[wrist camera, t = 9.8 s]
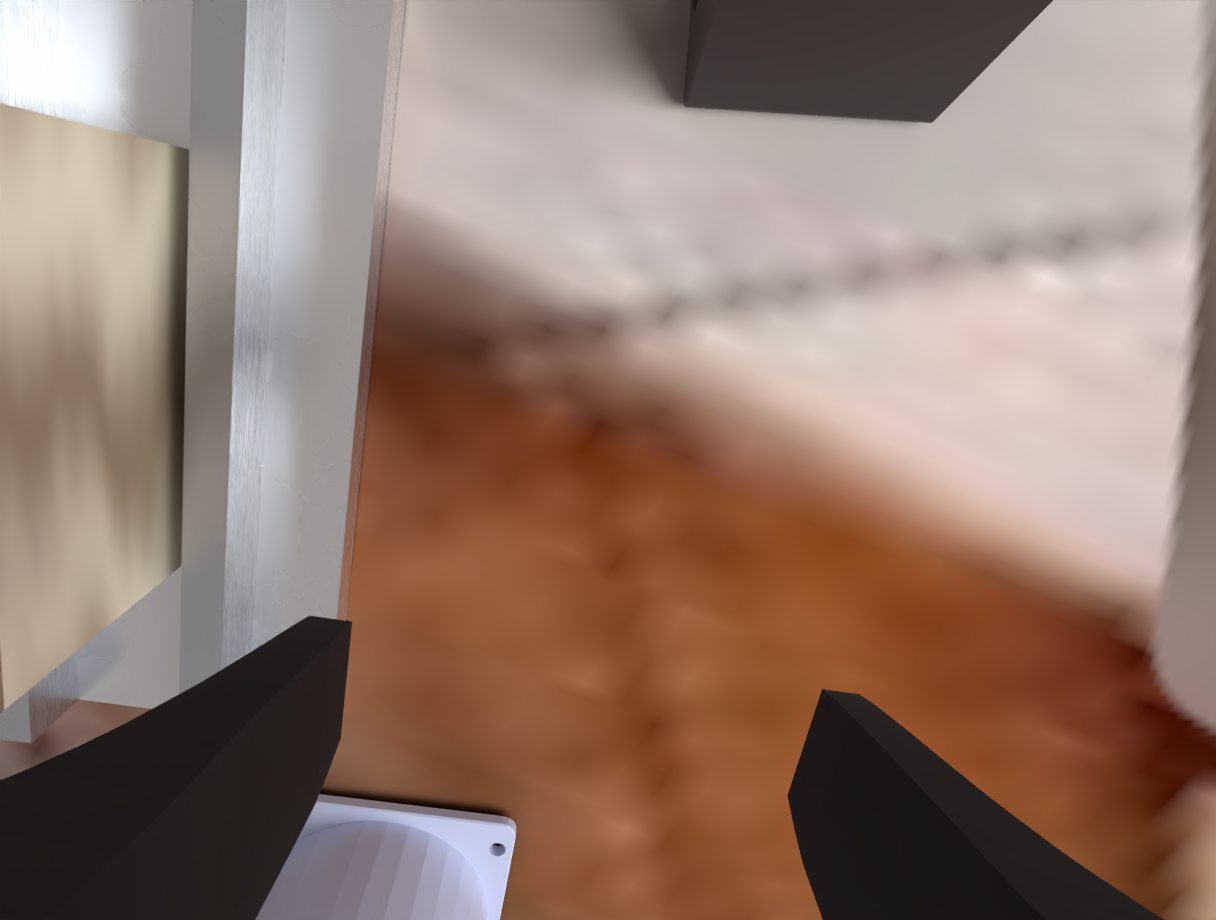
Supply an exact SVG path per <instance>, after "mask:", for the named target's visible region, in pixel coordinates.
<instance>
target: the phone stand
mask: <svg viewBox="0 0 1216 920" xmlns="http://www.w3.org/2000/svg"><path fill="white" fill-rule="evenodd" d="M1052 1H1053V0H691V12H690V25H689V39H688V52H687V66H686V79H685V92H684V106H685V107H694V108H709V109H725V110H740V111H756V112H771V113H787V114H802V115H818V116H833V117H848V118H864V119H879V120H895V121H910V122H926V123H932V122H933V121H934V120H935V119H936V118H937V117H938V116H939V115H940V114H941V113H942V112H943V111H944V110H945V109H946V108H947V107H948V106H949V105H950V104H951V103H952V102H953V101H954V100H955V99H956V98H957V97H958V96H959V95H960V94H961V93H962V92H963V91H964V90H965V89H966V88H967V87H968V86H969V85H970V84H971V83H972V82H973V81H974V80H975V79H976V78H977V77H978V76H979V75H980V74H981V73H982V72H983V71H984V70H985V69H986V68H987V67H988V66H989V65H990V64H991V63H992V62H993V61H994V60H995V59H996V58H997V57H998V56H999V54H1000V53H1001V52H1002V51H1003V50H1004V49H1005V48H1006V47H1007V46H1008V45H1009V44H1010V43H1011V42H1012V41H1013V40H1014V39H1015V38H1016V37H1017V36H1018V35H1019V34H1020V33H1021V32H1022V31H1023V30H1024V29H1025V28H1026V27H1027V26H1028V25H1029V24H1030V23H1031V22H1032V21H1033V20H1034V19H1035V18H1036V17H1037V16H1038V15H1039V14H1040V13H1041V12H1042V11H1043V10H1044V9H1045V8H1046V7H1047V6H1048V5H1049V4H1050V3H1051V2H1052Z"/></svg>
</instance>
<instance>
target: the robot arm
mask: <svg viewBox="0 0 1216 920" xmlns="http://www.w3.org/2000/svg"><path fill="white" fill-rule="evenodd" d="M351 627H352V622H351V621H344V620H337V619H330V618H323V617H317V616H308V617H306V618H304V619H303V620H301V621H299V622H298V623H296V624H294V625H293V626H291V627H290V628H288V629H286V630H285V631H283V632H282V633H280V634H278V635H277V636H275V637H274V638H272V639H271V640H269V641H267V642H266V643H264V644H263V645H261V646H259V647H258V648H256V649H255V650H253V651H251V652H250V653H248V654H247V655H245V656H243V657H242V658H240V659H238V660H237V661H235V662H233V663H232V664H230V665H229V666H227V667H225V668H224V669H222V670H220V671H219V672H217V673H215V674H214V675H212V676H210V677H209V678H207V679H205V680H204V681H202V682H200V683H199V684H197V685H195V686H193V687H191V688H190V689H188V690H186V691H184V692H182V693H180V694H179V695H177V696H175V697H173V698H171V699H169V700H168V701H166V702H164V703H162V704H160V705H158V706H157V707H155V708H153V709H151V710H149V711H147V712H146V713H144V714H142V715H140V716H138V717H136V718H135V719H133V720H131V721H129V722H127V723H125V724H123V725H121V726H119V727H117V728H115V729H113V730H111V731H109V732H107V733H105V734H103V735H101V736H99V737H97V738H95V739H93V740H91V741H89V742H87V743H85V744H83V745H80V746H78V747H76V748H74V749H72V750H69V751H67V752H65V753H63V754H60V755H58V756H56V757H54V758H52V759H49V760H47V761H45V762H43V763H40V764H38V765H36V766H34V767H32V768H29V769H27V770H24V771H22V772H20V773H17V774H15V775H13V776H10V777H8V778H5V779H3V780H0V920H500V915H501V910H502V905H503V900H504V895H505V889H506V884H507V879H508V874H509V869H510V864H511V858H512V853H513V848H514V843H515V837H516V825H515V823H514V821H513V820H511V819H510V818H508V817H504V816H498V815H489V814H481V813H472V812H464V811H456V810H447V809H439V808H431V807H422V806H414V805H406V804H397V803H389V802H381V801H372V800H364V799H355V798H347V797H339V796H330V795H322V794H320V791H321V789H322V786H323V784H324V781H325V779H326V776H327V773H328V771H329V768H330V765H331V763H332V760H333V757H334V755H335V752H336V749H337V747H338V744H339V741H340V739H341V728H342V718H343V708H344V698H345V688H346V678H347V668H348V657H349V647H350V637H351ZM788 800H789V805H790V809H791V814H792V819H793V824H794V829H795V833H796V837H797V841H798V845H799V850H800V854H801V858H802V862H803V865H804V868H805V871H806V874H807V877H808V879H809V882H810V885H811V888H812V891H813V893H814V896H815V899H816V902H817V905H818V907H819V910H820V913H821V916H822V919H823V920H1164V919H1162V918H1161V917H1159V916H1157V915H1156V914H1154V913H1153V912H1151V911H1149V910H1148V909H1146V908H1145V907H1143V906H1142V905H1140V904H1138V903H1137V902H1135V901H1134V900H1132V899H1131V898H1129V897H1128V896H1126V895H1125V894H1123V893H1122V892H1120V891H1119V890H1117V889H1116V888H1114V887H1113V886H1111V885H1110V884H1108V883H1107V882H1105V881H1104V880H1102V879H1101V878H1099V877H1098V876H1096V875H1095V874H1093V873H1092V872H1090V871H1089V870H1087V869H1086V868H1084V867H1083V866H1081V865H1080V864H1079V863H1077V862H1076V861H1074V860H1073V859H1072V858H1070V857H1069V856H1067V855H1066V854H1064V853H1063V852H1062V851H1060V850H1059V849H1057V848H1056V847H1055V846H1053V845H1052V844H1051V843H1049V842H1048V841H1047V840H1045V839H1044V838H1043V837H1041V836H1040V835H1039V834H1037V833H1036V832H1034V831H1033V830H1032V829H1030V828H1029V827H1028V826H1026V825H1025V824H1024V823H1022V822H1021V821H1020V820H1018V819H1017V818H1016V817H1014V816H1013V815H1012V814H1010V813H1009V812H1008V811H1007V810H1005V809H1004V808H1003V807H1001V806H1000V805H999V804H998V803H996V802H995V801H994V800H992V799H991V798H990V797H989V796H987V795H986V794H985V793H984V792H982V791H981V790H980V789H979V788H977V787H976V786H975V785H973V784H972V783H971V782H970V781H969V780H967V779H966V778H965V777H964V776H962V775H961V774H960V773H959V772H957V771H956V770H955V769H954V768H952V767H951V766H950V765H949V764H948V763H946V762H945V761H944V760H943V759H941V758H940V757H939V756H938V755H937V754H935V753H934V752H933V751H932V750H930V749H929V748H928V747H927V746H926V745H924V744H923V743H922V742H921V741H920V740H918V739H917V738H916V737H915V736H913V735H912V734H911V733H910V732H909V731H907V730H906V729H905V728H904V727H902V726H901V725H900V724H899V723H897V722H896V721H895V720H894V719H892V718H891V717H890V716H889V715H887V714H886V713H885V712H883V711H882V710H881V709H879V708H878V707H877V706H875V705H874V704H873V703H871V702H870V701H868V700H867V699H865V698H864V697H862V696H861V695H859V694H852V693H845V692H838V691H831V690H824V689H822V691H821V695H820V698H819V701H818V704H817V707H816V710H815V713H814V716H813V719H812V722H811V725H810V728H809V731H808V734H807V738H806V741H805V744H804V747H803V750H802V753H801V756H800V759H799V762H798V765H797V768H796V771H795V774H794V778H793V781H792V784H791V787H790V790H789V793H788ZM494 843H500V844H503V845H502V846H496V845H493V844H494Z"/></svg>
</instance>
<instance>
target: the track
mask: <svg viewBox="0 0 1216 920" xmlns="http://www.w3.org/2000/svg"><path fill="white" fill-rule="evenodd" d="M405 2H406V0H0V103H2V104H6V105H10V106H14V107H18V108H22V109H26V110H30V111H34V112H38V113H43V114H47V115H51V116H55V117H59V118H63V119H67V120H71V121H75V122H79V123H83V124H88V125H92V126H96V127H100V128H104V129H108V130H112V131H116V132H120V133H124V134H128V135H132V136H137V137H141V138H145V139H149V140H153V141H157V142H161V143H165V144H169V145H173V146H177V147H182V148H186V149H189V201H188V253H187V304H186V356H185V408H184V460H183V511H182V563H181V567H179V568H178V569H177V570H176V571H174V572H173V573H172V574H171V575H170V576H168V577H167V578H166V579H165V580H163V581H162V582H161V583H160V584H159V585H157V586H156V587H155V588H154V589H152V590H151V591H150V592H149V593H147V594H146V595H145V596H144V597H143V598H141V599H140V600H139V601H138V602H136V603H135V604H134V605H133V606H132V607H130V608H129V609H128V610H127V611H125V612H124V613H123V614H122V615H121V616H119V617H118V618H117V619H116V620H114V621H113V622H112V623H111V624H109V625H108V626H107V627H106V628H105V629H103V630H102V631H101V632H100V633H98V634H97V635H96V636H95V637H94V638H92V639H91V640H90V641H89V642H87V643H86V644H85V645H84V646H83V647H81V648H80V649H79V650H78V651H76V652H75V653H74V654H73V655H71V656H70V657H69V658H68V659H67V660H65V661H64V662H63V663H62V664H60V665H59V666H58V667H57V668H56V669H54V670H53V671H52V672H51V673H49V674H48V675H47V676H46V677H44V678H43V679H42V680H41V681H40V682H38V683H37V684H36V685H35V686H33V687H32V688H31V689H30V690H29V691H27V692H26V693H25V694H24V695H22V696H21V697H20V698H19V699H18V700H16V701H15V702H14V703H13V704H11V705H10V706H9V707H8V708H6V709H5V710H4V711H3V712H2V713H0V740H8V741H17V742H25V743H32V742H33V741H34V740H35V739H36V738H37V737H38V736H39V735H41V734H42V733H43V732H44V731H45V730H46V729H47V728H48V727H49V726H50V725H51V724H53V723H54V722H55V721H56V720H57V719H58V718H59V717H60V716H61V715H62V714H63V713H65V712H66V711H67V710H68V709H69V708H70V707H71V706H72V705H73V704H74V703H75V702H77V701H78V700H79V699H80V700H87V701H95V702H103V703H111V704H119V705H126V706H134V707H142V708H150V709H153V708H155V707H157V706H158V705H160V704H162V703H164V702H166V701H168V700H169V699H171V698H173V697H175V696H177V695H179V694H180V693H182V692H184V691H186V690H188V689H190V688H191V687H193V686H195V685H197V684H199V683H200V682H202V681H204V680H205V679H207V678H209V677H210V676H212V675H214V674H215V673H217V672H219V671H220V670H222V669H224V668H225V667H227V666H229V665H230V664H232V663H233V662H235V661H237V660H238V659H240V658H242V657H243V656H245V655H247V654H248V653H250V652H251V651H253V650H255V649H256V648H258V647H259V646H261V645H263V644H264V643H266V642H267V641H269V640H271V639H272V638H274V637H275V636H277V635H278V634H280V633H282V632H283V631H285V630H286V629H288V628H290V627H291V626H293V625H294V624H296V623H298V622H299V621H301V620H303V619H304V618H306V617H308V616H317V617H323V618H330V619H337V620H344V621H346V618H347V608H348V597H349V587H350V577H351V566H352V556H353V545H354V535H355V524H356V514H357V503H358V493H359V483H360V472H361V462H362V451H363V441H364V430H365V420H366V409H367V399H368V389H369V378H370V368H371V357H372V347H373V336H374V326H375V315H376V305H377V295H378V284H379V274H380V263H381V253H382V242H383V232H384V221H385V211H386V201H387V190H388V180H389V169H390V159H391V148H392V138H393V127H394V117H395V107H396V96H397V86H398V75H399V65H400V54H401V44H402V33H403V23H404V13H405Z"/></svg>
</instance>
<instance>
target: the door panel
mask: <svg viewBox="0 0 1216 920" xmlns="http://www.w3.org/2000/svg"><path fill="white" fill-rule="evenodd" d="M188 201H189V149H186V148H182V147H177V146H173V145H169V144H165V143H161V142H157V141H153V140H149V139H145V138H141V137H137V136H132V135H128V134H124V133H120V132H116V131H112V130H108V129H104V128H100V127H96V126H92V125H88V124H83V123H79V122H75V121H71V120H67V119H63V118H59V117H55V116H51V115H47V114H43V113H38V112H34V111H30V110H26V109H22V108H18V107H14V106H10V105H6V104H2V103H0V713H2V712H3V711H4V710H5V709H6V708H8V707H9V706H10V705H11V704H13V703H14V702H15V701H16V700H18V699H19V698H20V697H21V696H22V695H24V694H25V693H26V692H27V691H29V690H30V689H31V688H32V687H33V686H35V685H36V684H37V683H38V682H40V681H41V680H42V679H43V678H44V677H46V676H47V675H48V674H49V673H51V672H52V671H53V670H54V669H56V668H57V667H58V666H59V665H60V664H62V663H63V662H64V661H65V660H67V659H68V658H69V657H70V656H71V655H73V654H74V653H75V652H76V651H78V650H79V649H80V648H81V647H83V646H84V645H85V644H86V643H87V642H89V641H90V640H91V639H92V638H94V637H95V636H96V635H97V634H98V633H100V632H101V631H102V630H103V629H105V628H106V627H107V626H108V625H109V624H111V623H112V622H113V621H114V620H116V619H117V618H118V617H119V616H121V615H122V614H123V613H124V612H125V611H127V610H128V609H129V608H130V607H132V606H133V605H134V604H135V603H136V602H138V601H139V600H140V599H141V598H143V597H144V596H145V595H146V594H147V593H149V592H150V591H151V590H152V589H154V588H155V587H156V586H157V585H159V584H160V583H161V582H162V581H163V580H165V579H166V578H167V577H168V576H170V575H171V574H172V573H173V572H174V571H176V570H177V569H178V568H179V567H181V563H182V511H183V460H184V408H185V356H186V304H187V253H188Z"/></svg>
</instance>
